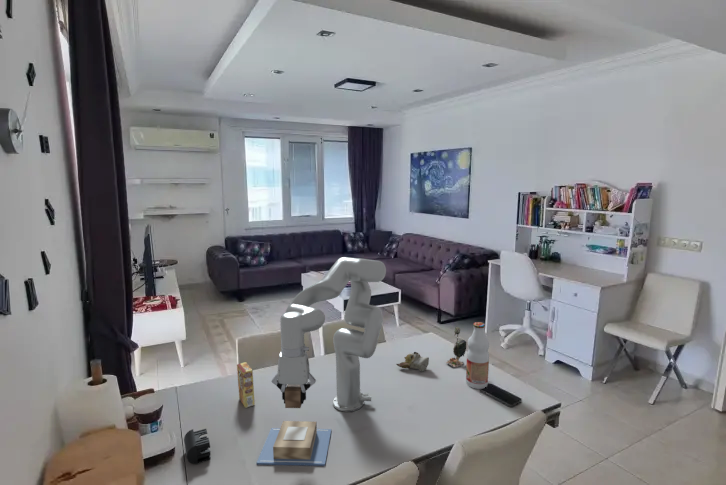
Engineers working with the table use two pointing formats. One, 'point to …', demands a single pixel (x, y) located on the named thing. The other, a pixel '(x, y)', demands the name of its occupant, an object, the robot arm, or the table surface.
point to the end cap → (197, 446)
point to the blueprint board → (316, 459)
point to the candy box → (245, 384)
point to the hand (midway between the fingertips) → (294, 401)
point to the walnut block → (293, 396)
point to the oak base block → (295, 440)
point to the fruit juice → (477, 358)
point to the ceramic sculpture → (415, 362)
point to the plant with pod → (458, 350)
